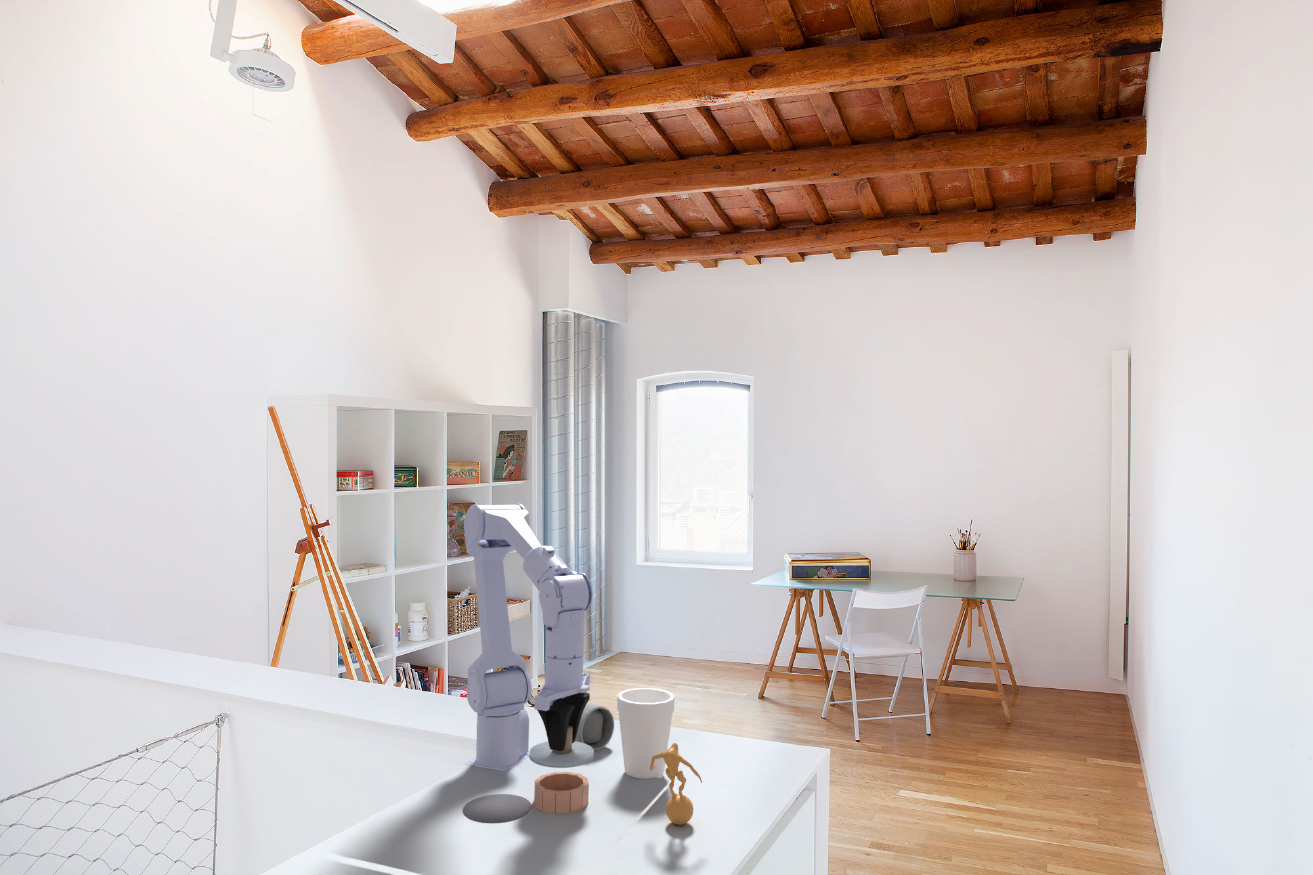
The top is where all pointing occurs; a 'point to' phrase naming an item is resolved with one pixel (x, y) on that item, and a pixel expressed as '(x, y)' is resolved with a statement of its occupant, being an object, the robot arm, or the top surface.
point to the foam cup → (644, 729)
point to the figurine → (679, 805)
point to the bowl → (561, 792)
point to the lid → (562, 753)
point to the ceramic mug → (595, 726)
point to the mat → (497, 808)
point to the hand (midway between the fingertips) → (562, 745)
